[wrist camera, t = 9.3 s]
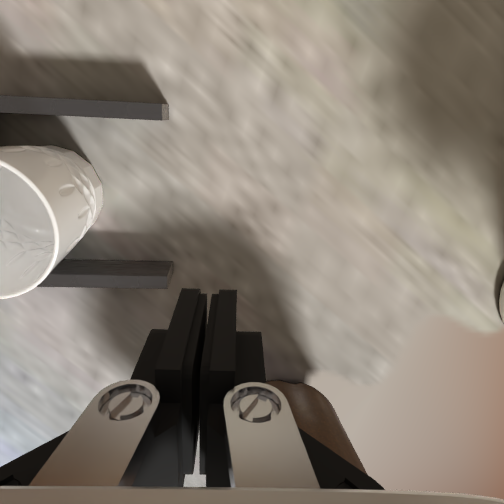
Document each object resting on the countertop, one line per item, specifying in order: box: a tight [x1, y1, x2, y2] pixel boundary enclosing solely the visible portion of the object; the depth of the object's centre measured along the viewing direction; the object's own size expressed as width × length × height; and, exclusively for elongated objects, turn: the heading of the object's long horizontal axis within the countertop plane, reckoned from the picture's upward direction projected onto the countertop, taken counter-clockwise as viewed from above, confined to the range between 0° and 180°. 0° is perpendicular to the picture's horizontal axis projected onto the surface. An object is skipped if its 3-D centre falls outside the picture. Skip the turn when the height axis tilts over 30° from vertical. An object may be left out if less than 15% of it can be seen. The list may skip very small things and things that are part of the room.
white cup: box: [0, 145, 103, 299], centre depth 24 cm, size 8×8×10 cm
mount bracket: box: [0, 95, 173, 289], centre depth 27 cm, size 13×13×3 cm
